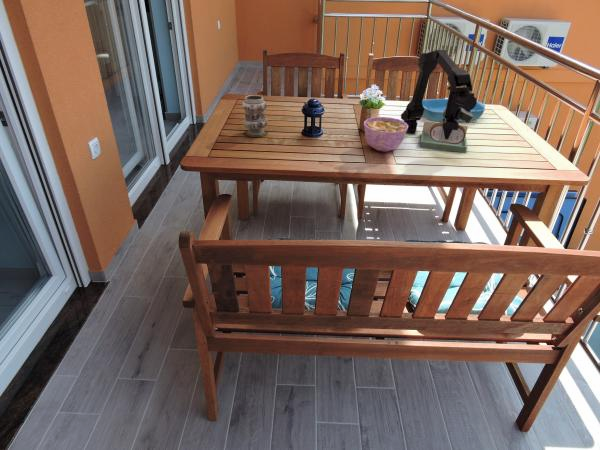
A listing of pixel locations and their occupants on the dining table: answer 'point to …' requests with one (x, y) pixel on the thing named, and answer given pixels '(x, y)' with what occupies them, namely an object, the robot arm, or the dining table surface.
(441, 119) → the casserole dish
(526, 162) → the dining table surface
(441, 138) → the tin
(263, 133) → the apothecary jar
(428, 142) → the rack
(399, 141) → the bowl of food
